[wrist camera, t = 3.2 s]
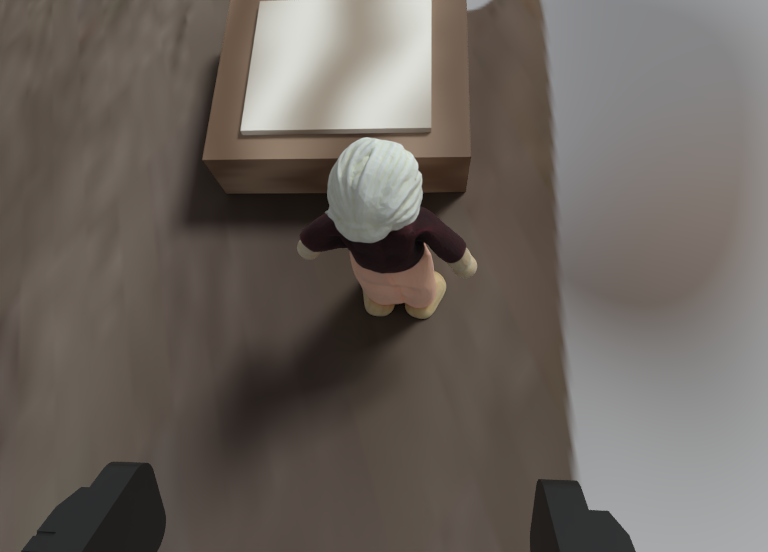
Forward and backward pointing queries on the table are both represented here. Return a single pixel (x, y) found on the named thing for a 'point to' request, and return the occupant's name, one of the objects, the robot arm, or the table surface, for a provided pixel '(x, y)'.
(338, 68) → the stand
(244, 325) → the table surface
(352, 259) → the grandmother figurine
